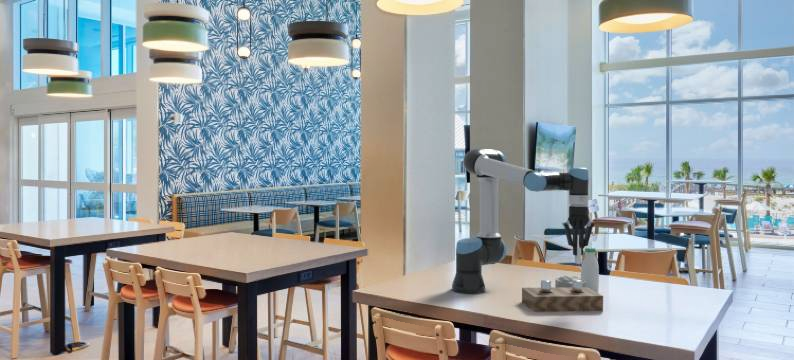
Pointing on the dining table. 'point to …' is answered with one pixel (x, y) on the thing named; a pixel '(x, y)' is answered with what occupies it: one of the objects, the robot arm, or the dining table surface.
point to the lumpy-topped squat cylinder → (567, 281)
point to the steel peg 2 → (577, 286)
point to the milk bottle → (590, 270)
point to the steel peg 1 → (545, 286)
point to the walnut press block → (562, 300)
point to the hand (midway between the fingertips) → (577, 263)
